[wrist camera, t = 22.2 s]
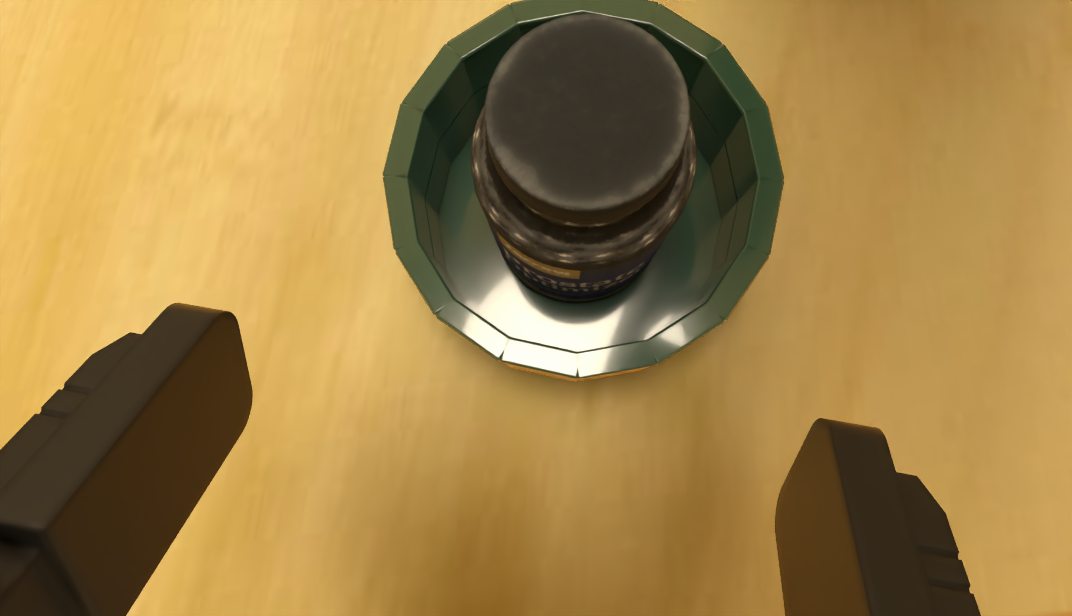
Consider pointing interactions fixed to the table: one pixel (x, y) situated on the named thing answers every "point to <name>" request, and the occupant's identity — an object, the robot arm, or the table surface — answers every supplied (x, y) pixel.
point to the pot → (674, 271)
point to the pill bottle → (583, 155)
